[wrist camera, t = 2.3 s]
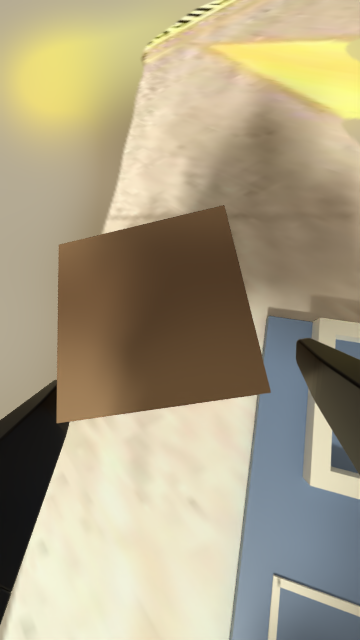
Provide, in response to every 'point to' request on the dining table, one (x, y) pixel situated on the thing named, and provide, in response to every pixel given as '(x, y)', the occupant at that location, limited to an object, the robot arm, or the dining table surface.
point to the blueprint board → (298, 504)
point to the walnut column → (154, 319)
